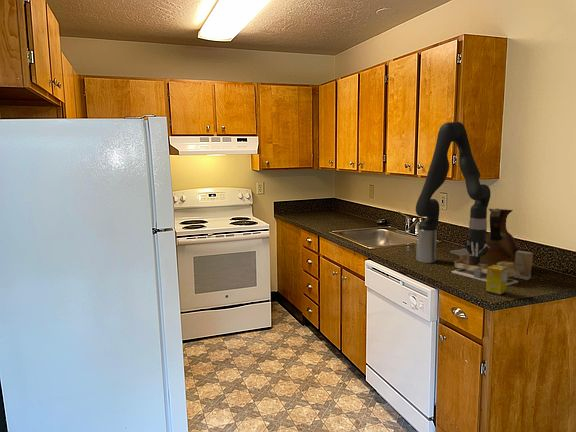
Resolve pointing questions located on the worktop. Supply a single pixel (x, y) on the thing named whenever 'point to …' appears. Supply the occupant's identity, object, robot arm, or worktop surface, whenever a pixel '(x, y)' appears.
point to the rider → (466, 259)
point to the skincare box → (523, 265)
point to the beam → (484, 267)
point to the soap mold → (460, 251)
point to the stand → (478, 275)
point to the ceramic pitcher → (499, 240)
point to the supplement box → (496, 280)
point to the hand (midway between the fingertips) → (476, 263)
